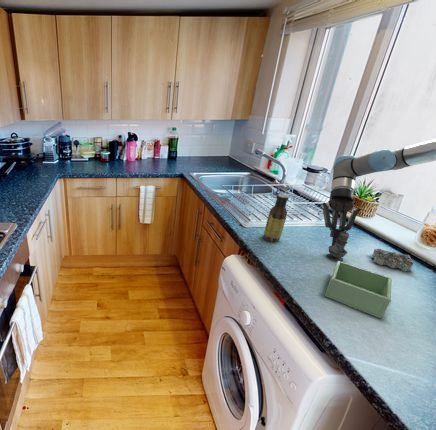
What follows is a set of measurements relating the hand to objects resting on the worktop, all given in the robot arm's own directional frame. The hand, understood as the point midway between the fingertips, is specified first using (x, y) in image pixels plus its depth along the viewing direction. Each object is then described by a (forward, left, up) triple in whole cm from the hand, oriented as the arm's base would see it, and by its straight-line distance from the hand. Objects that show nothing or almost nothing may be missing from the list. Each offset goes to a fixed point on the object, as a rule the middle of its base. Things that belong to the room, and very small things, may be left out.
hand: (335, 245), depth 110 cm
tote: (-9, +25, -3) cm, 27 cm away
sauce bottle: (+21, +5, -4) cm, 22 cm away
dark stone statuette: (-1, +3, -4) cm, 5 cm away
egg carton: (-17, -7, -4) cm, 19 cm away
